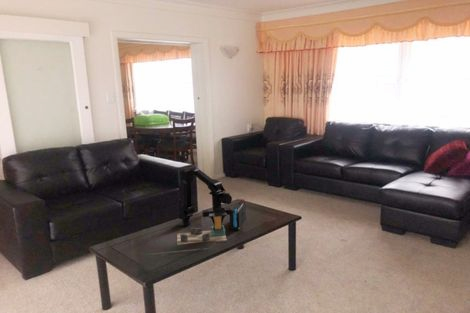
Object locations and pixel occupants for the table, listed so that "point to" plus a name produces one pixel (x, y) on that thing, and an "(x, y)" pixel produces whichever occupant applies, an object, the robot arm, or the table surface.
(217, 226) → the plug block
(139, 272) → the table surface
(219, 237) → the board
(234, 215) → the game console
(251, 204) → the table surface
